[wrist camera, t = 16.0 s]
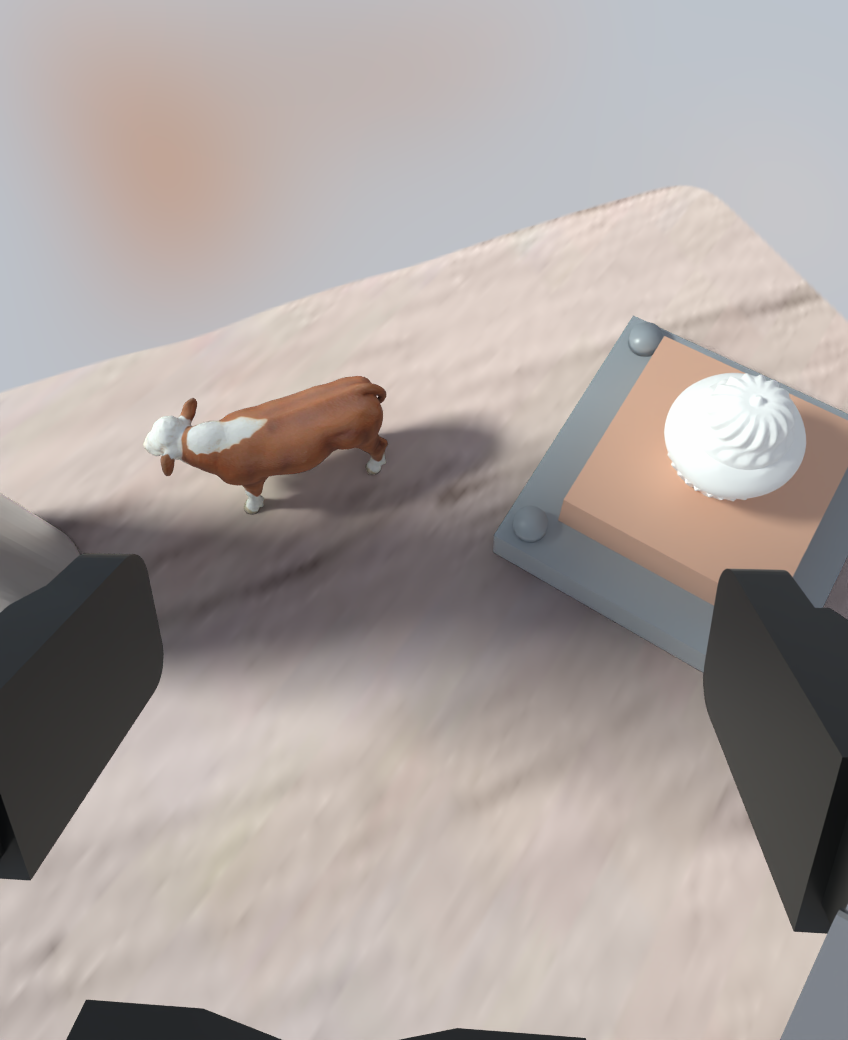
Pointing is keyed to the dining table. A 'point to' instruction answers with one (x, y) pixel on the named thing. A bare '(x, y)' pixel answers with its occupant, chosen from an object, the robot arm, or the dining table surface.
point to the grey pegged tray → (670, 502)
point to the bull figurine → (276, 435)
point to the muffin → (735, 436)
